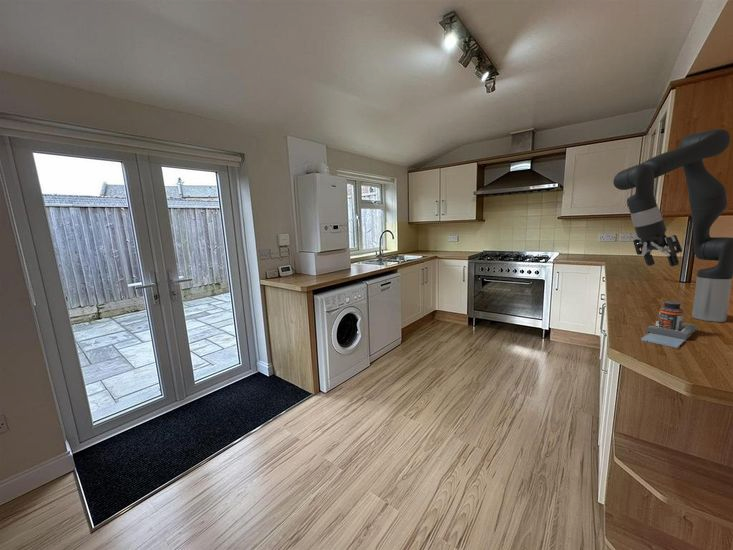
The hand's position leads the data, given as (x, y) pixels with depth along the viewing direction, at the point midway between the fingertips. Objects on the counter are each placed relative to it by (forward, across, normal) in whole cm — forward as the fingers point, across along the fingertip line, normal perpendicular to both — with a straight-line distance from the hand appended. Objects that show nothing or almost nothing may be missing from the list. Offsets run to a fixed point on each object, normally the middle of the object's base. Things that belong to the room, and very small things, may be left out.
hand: (662, 265), depth 103 cm
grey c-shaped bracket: (+27, +6, -1) cm, 27 cm away
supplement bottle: (+26, +4, +2) cm, 27 cm away
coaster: (+24, -4, +11) cm, 26 cm away
